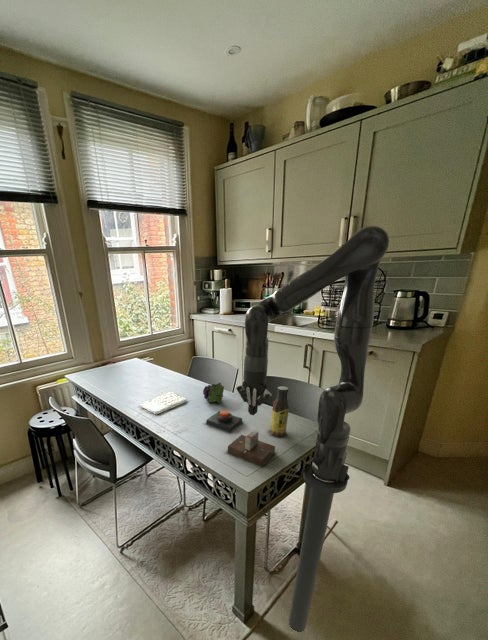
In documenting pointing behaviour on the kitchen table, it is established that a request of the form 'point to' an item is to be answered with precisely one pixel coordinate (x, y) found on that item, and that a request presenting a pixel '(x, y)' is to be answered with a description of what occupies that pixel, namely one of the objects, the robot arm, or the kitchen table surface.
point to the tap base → (251, 451)
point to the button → (224, 414)
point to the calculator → (163, 403)
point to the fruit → (213, 392)
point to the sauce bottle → (279, 412)
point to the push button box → (224, 422)
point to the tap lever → (251, 440)
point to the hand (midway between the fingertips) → (252, 414)
